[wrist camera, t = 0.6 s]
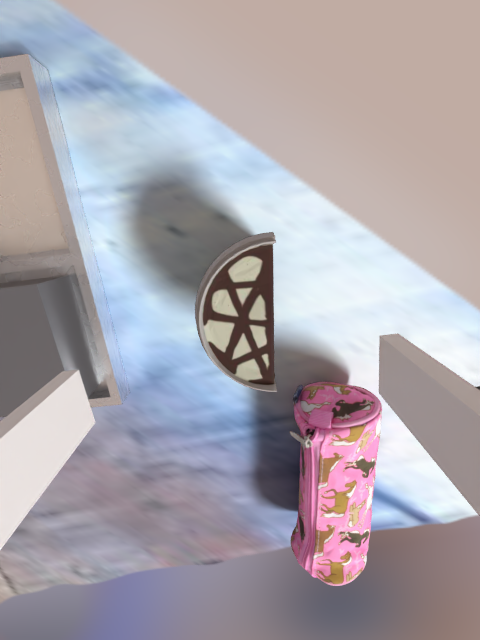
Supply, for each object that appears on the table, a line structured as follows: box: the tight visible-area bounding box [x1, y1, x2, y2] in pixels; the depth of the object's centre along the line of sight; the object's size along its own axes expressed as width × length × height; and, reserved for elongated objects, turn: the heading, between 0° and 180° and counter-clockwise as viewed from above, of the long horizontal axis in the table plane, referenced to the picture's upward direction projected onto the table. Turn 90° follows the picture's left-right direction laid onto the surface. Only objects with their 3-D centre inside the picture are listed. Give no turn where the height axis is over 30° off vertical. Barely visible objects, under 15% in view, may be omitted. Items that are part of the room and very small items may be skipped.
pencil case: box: [290, 382, 382, 586], centre depth 33 cm, size 21×9×9 cm, turn 4°
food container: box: [195, 232, 277, 392], centre depth 26 cm, size 12×6×10 cm, turn 2°
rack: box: [0, 54, 130, 407], centre depth 29 cm, size 14×31×3 cm, turn 7°
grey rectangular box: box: [0, 275, 101, 417], centre depth 29 cm, size 8×12×5 cm, turn 7°
